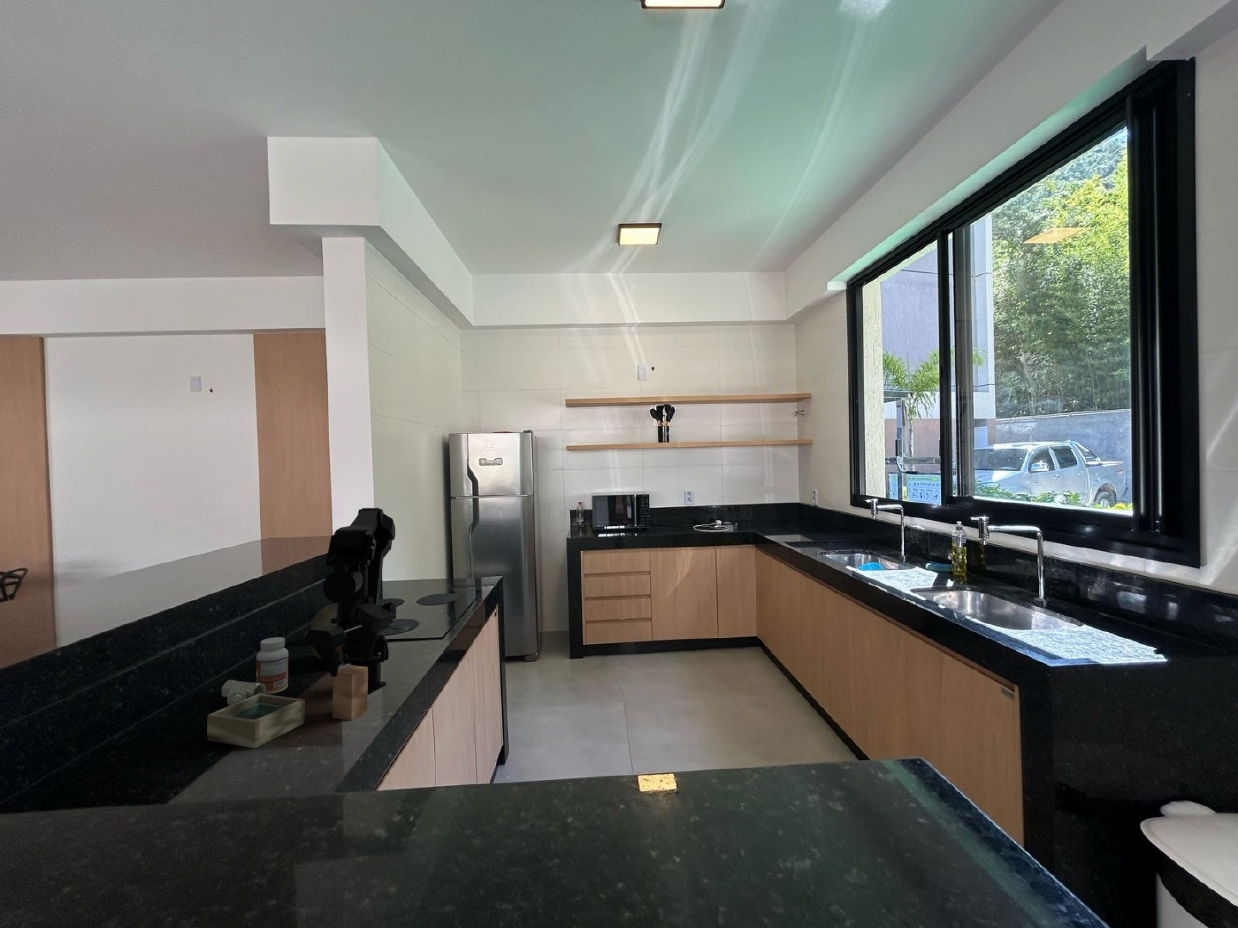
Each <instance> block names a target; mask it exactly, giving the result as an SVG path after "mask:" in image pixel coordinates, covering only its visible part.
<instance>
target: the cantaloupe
mask: <svg viewBox="0 0 1238 928" xmlns="http://www.w3.org/2000/svg"><path fill="white" fill-rule="evenodd" d="M334 617H336V603H330V604H328V605H326V606H325V607H323V608H321V609H319V610H318V612H316V613H315V614H314V617H313V618H312V620H311V623H310V626H309V628H308V629H310V628H313V627H317V626H320V625H331V626H337V624H331V618H334ZM346 628H347V627H346ZM346 634H347V633H345V636H346ZM342 643H343V641H342ZM310 649H311V651H312V653H313V655H314V656H315V657H316V658H317V659H319V660H321V661H322V662H323V660H322V659H321V657H320V655H319V654H318V653H317V651H316V650H315V648H314V647H310ZM342 662H343V651H342V648H341V649H340V651H339V663H342Z"/></svg>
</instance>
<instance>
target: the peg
mask: <svg viewBox="0 0 1238 928" xmlns="http://www.w3.org/2000/svg"><path fill="white" fill-rule="evenodd" d="M368 696H369V694H368V667H362V666H353V665H350V664H348V665H346V666H345V667H342V668H338V673H337V676H336V677H332V719H339V720H346V721H347V720H348V721H353V720H355V719H357V718H359V717H361V716H363V715H364V714H365V713H367V712H368Z"/></svg>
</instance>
